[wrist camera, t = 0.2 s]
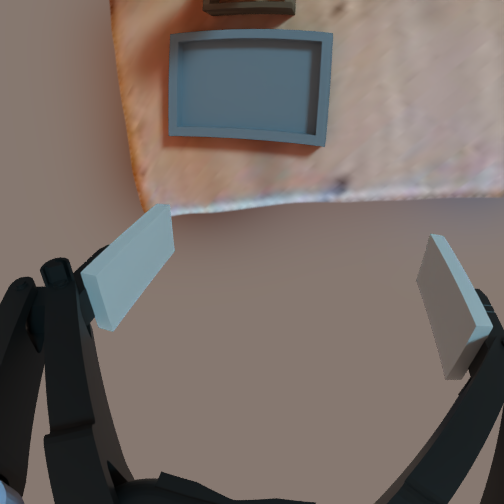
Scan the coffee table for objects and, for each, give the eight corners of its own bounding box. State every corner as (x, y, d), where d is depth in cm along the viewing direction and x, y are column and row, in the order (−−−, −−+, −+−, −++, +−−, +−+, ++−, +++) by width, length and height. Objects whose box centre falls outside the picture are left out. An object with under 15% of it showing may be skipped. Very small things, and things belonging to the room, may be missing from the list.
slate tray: (178, 36, 35) (170, 34, 33) (332, 37, 32) (332, 33, 30) (176, 133, 42) (168, 135, 40) (325, 143, 38) (324, 146, 36)
